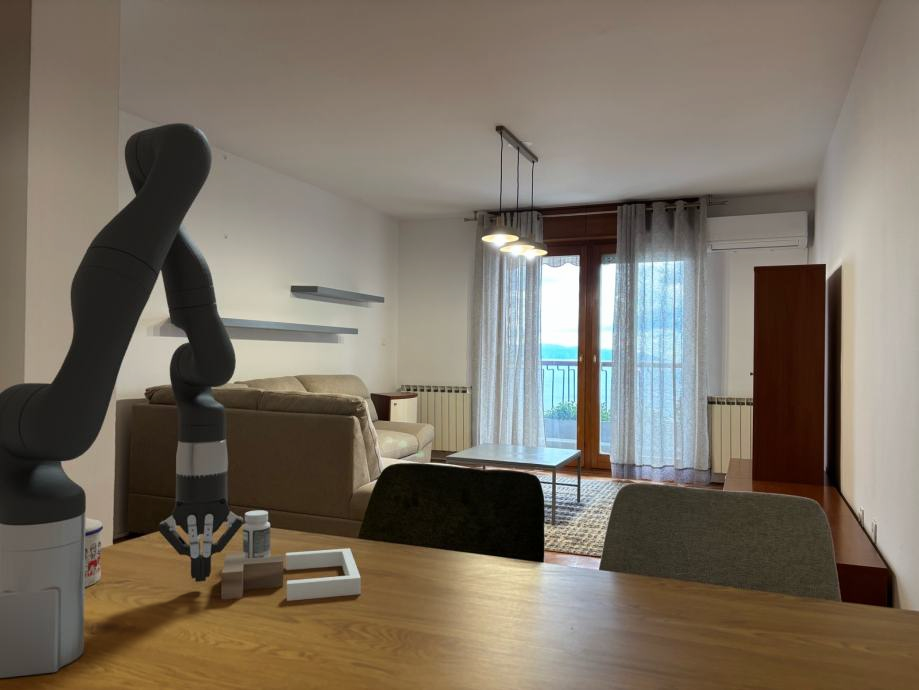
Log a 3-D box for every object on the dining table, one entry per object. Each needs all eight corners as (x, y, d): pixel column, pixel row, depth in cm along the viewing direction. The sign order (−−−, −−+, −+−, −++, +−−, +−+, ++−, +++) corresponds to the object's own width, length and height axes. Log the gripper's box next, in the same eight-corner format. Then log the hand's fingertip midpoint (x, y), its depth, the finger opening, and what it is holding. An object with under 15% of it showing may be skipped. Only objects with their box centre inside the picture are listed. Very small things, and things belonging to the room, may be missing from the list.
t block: (283, 594, 102) (283, 568, 102) (221, 599, 100) (221, 573, 100) (282, 573, 112) (283, 549, 112) (226, 577, 110) (226, 553, 110)
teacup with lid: (79, 594, 102) (80, 517, 102) (22, 592, 102) (23, 516, 103) (124, 568, 114) (124, 500, 114) (73, 567, 114) (73, 499, 115)
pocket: (360, 594, 102) (360, 577, 102) (286, 600, 100) (287, 584, 100) (349, 562, 118) (349, 548, 118) (285, 567, 115) (285, 552, 115)
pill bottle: (274, 555, 122) (274, 510, 122) (264, 564, 117) (264, 516, 117) (249, 554, 122) (249, 509, 122) (238, 563, 117) (238, 515, 117)
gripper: (151, 475, 99) (150, 592, 99) (245, 471, 102) (244, 584, 102) (160, 466, 106) (159, 575, 106) (247, 463, 110) (246, 568, 109)
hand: (201, 579), depth 104 cm, fingers closed
